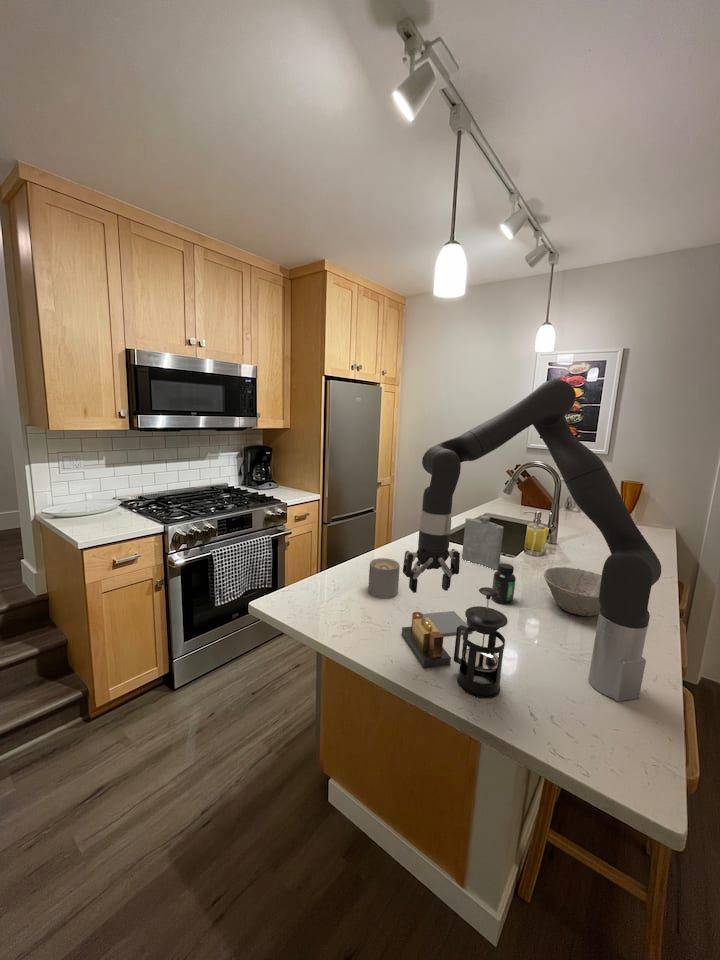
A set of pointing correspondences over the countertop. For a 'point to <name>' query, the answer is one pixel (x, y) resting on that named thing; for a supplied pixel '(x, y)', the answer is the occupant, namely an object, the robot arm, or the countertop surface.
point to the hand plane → (436, 651)
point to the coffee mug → (383, 578)
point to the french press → (481, 649)
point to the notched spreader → (482, 542)
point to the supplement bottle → (504, 584)
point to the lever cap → (423, 631)
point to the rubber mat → (446, 622)
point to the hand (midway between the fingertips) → (429, 590)
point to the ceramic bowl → (575, 589)
